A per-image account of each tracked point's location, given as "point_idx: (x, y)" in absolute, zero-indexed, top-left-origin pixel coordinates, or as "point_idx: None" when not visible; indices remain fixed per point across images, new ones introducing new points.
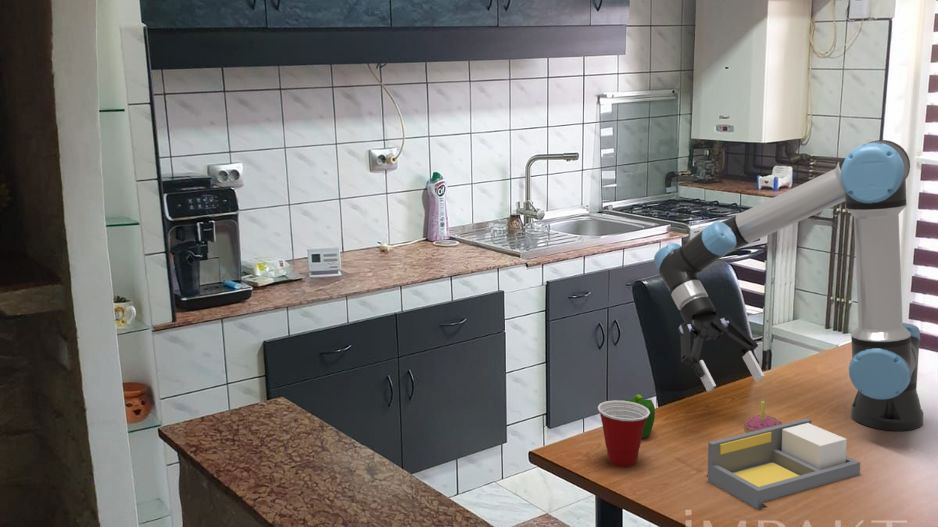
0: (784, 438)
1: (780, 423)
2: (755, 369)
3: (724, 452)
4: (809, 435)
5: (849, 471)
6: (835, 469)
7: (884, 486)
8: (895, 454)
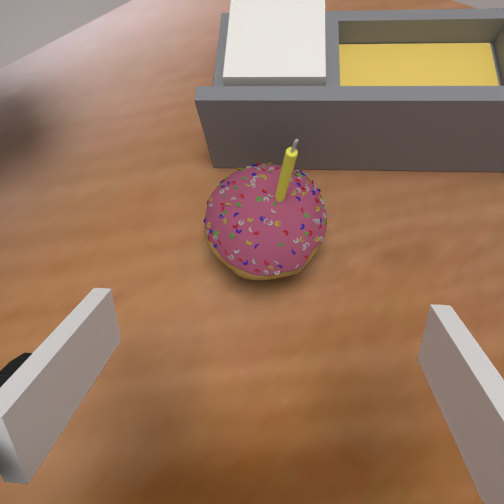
0: None
1: (233, 177)
2: (89, 337)
3: None
4: (294, 21)
5: None
6: None
7: (212, 17)
8: (61, 89)
